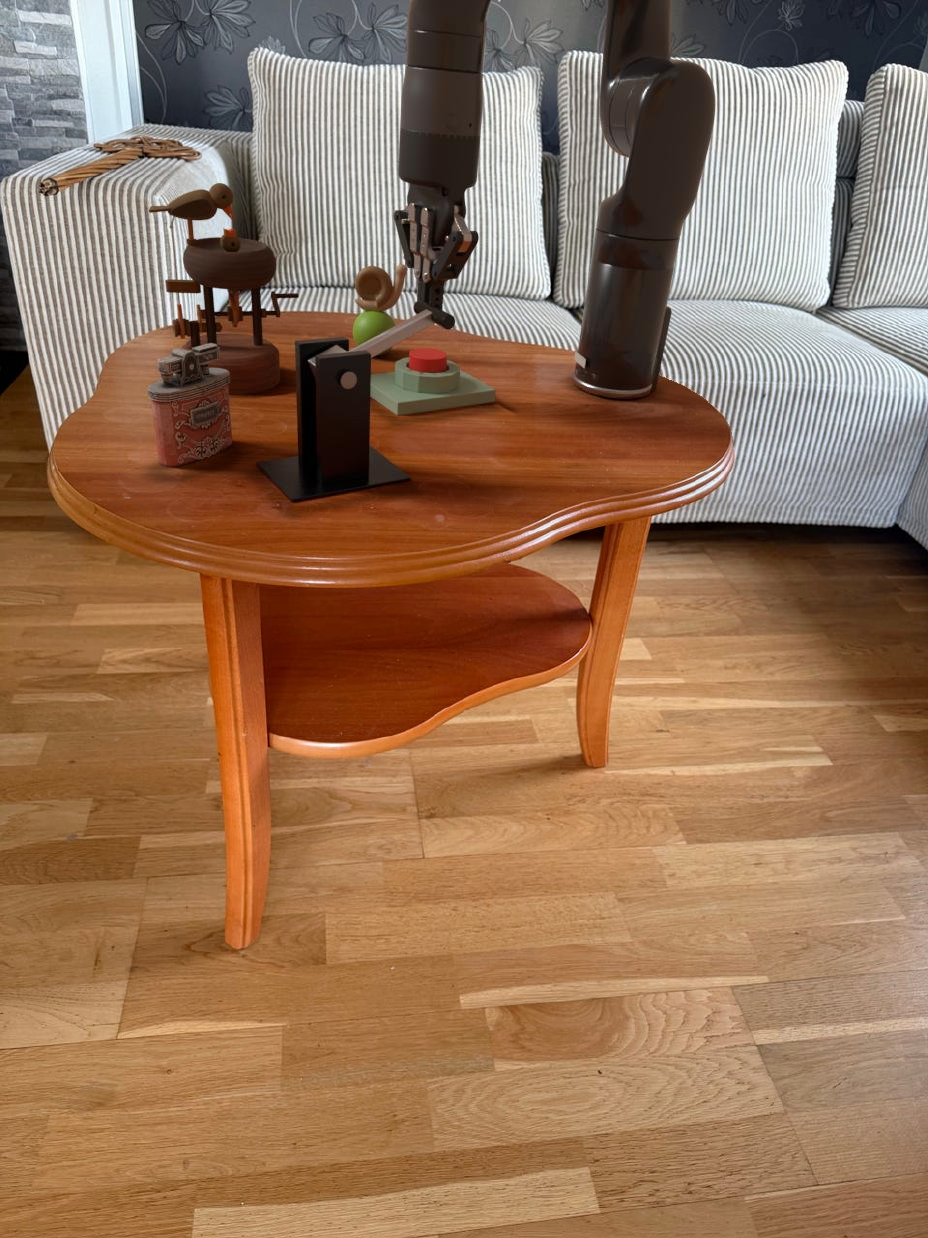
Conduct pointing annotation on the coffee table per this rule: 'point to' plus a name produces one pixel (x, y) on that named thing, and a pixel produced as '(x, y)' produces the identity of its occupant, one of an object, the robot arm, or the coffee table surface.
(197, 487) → the coffee table surface
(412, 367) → the button
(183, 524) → the coffee table surface
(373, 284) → the snail figurine
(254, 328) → the bird automaton
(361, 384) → the bracket
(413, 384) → the button box
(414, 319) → the lever
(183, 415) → the lighter
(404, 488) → the coffee table surface
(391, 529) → the coffee table surface
